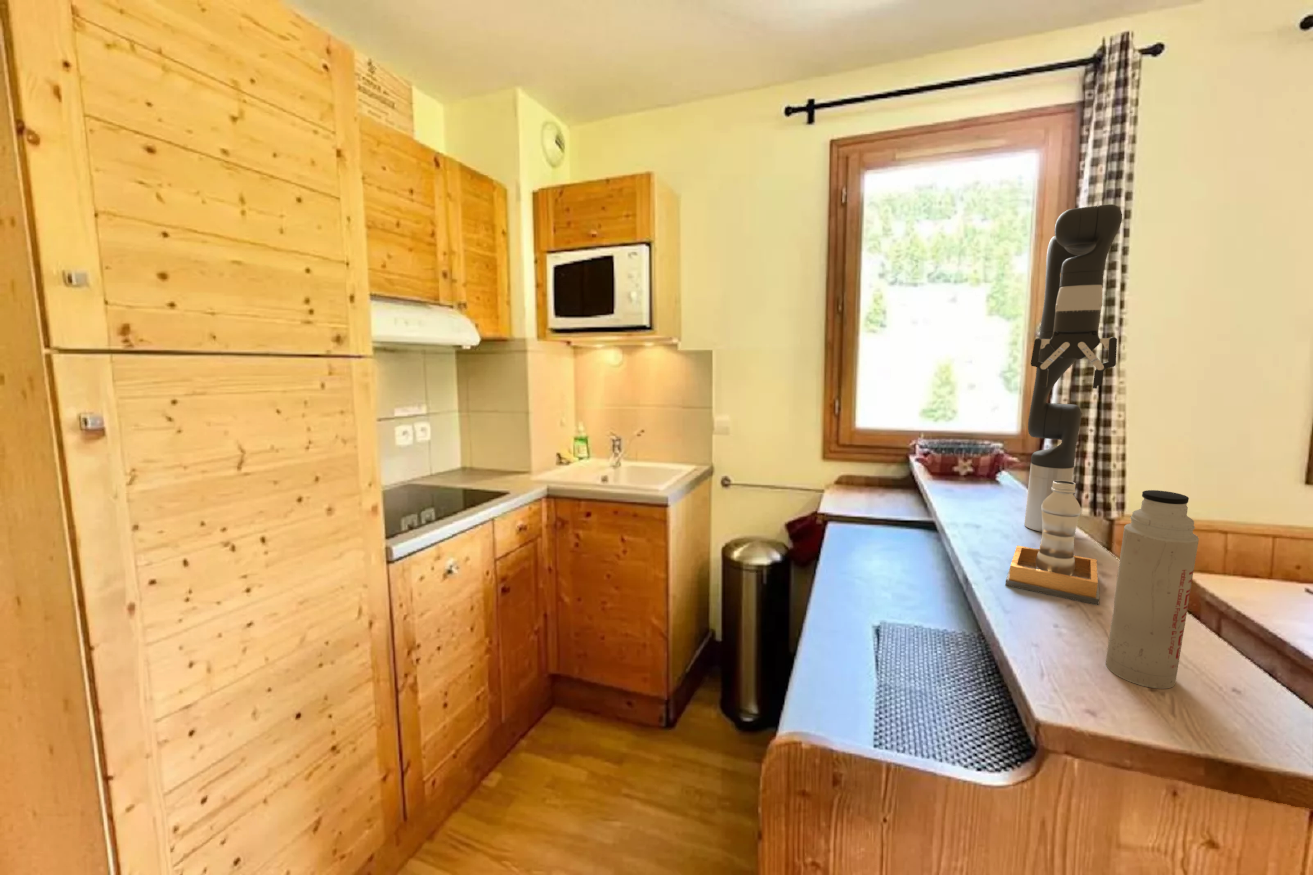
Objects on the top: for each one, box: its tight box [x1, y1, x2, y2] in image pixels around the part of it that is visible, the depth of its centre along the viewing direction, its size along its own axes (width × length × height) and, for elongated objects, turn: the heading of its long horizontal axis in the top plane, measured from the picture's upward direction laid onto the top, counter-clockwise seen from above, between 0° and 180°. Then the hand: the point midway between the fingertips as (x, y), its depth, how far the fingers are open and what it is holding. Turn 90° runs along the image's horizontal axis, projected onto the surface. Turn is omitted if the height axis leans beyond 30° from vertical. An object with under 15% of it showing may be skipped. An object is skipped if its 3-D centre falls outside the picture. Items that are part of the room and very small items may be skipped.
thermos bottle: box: [1105, 489, 1200, 690], centre depth 81 cm, size 8×8×28 cm
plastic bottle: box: [1036, 480, 1082, 576], centre depth 113 cm, size 6×7×20 cm
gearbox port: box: [1005, 545, 1100, 606], centre depth 114 cm, size 15×15×4 cm
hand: (1069, 387), depth 117 cm, fingers open, 8 cm apart
